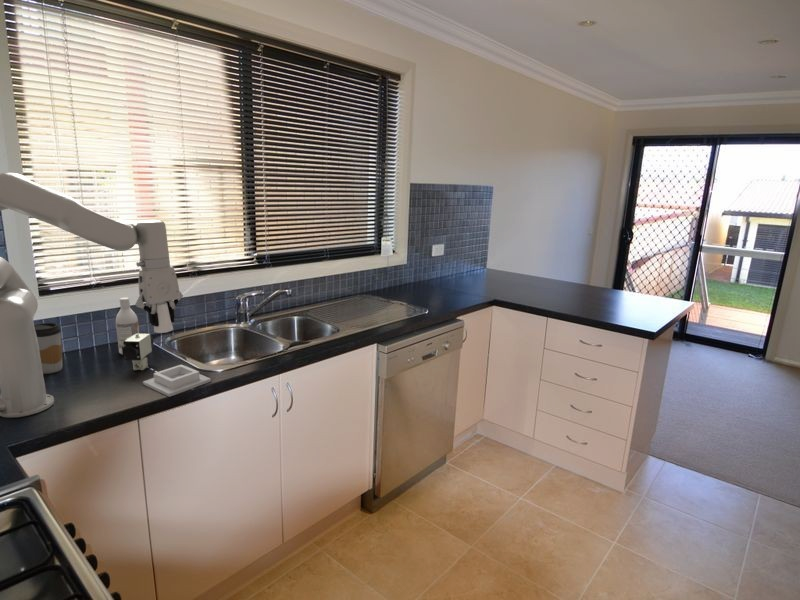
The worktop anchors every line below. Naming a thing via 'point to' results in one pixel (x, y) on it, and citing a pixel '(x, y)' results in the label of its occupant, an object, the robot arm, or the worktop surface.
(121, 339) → the bath foam
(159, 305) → the salt shaker
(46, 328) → the coffee cup
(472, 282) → the worktop surface
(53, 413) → the worktop surface
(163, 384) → the flange
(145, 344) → the pneumatic valve
